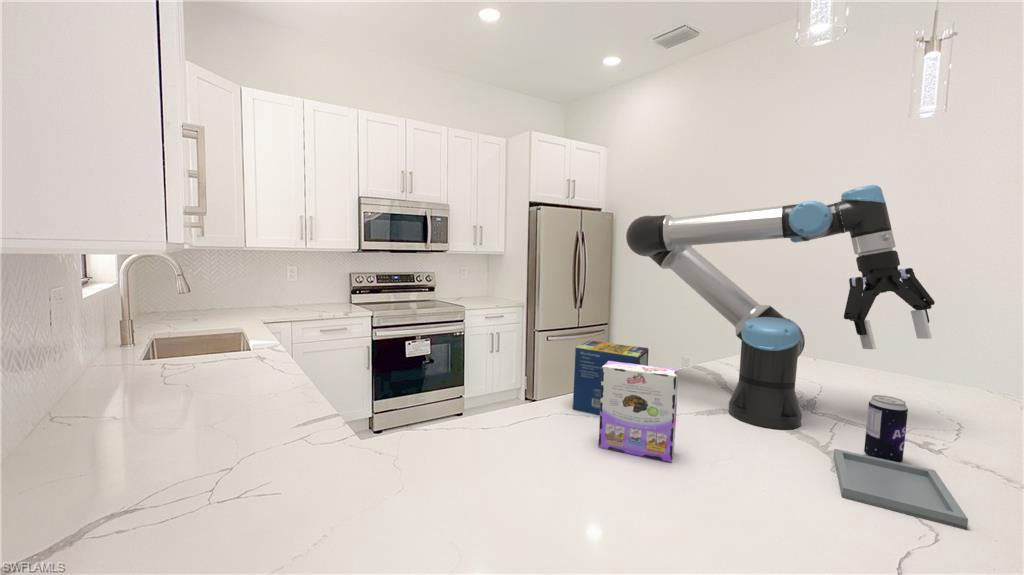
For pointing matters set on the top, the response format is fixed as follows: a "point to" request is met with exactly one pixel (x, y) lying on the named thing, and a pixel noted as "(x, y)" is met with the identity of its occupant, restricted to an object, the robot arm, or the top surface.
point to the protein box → (599, 370)
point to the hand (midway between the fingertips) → (897, 343)
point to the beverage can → (886, 428)
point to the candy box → (638, 409)
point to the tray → (897, 487)
